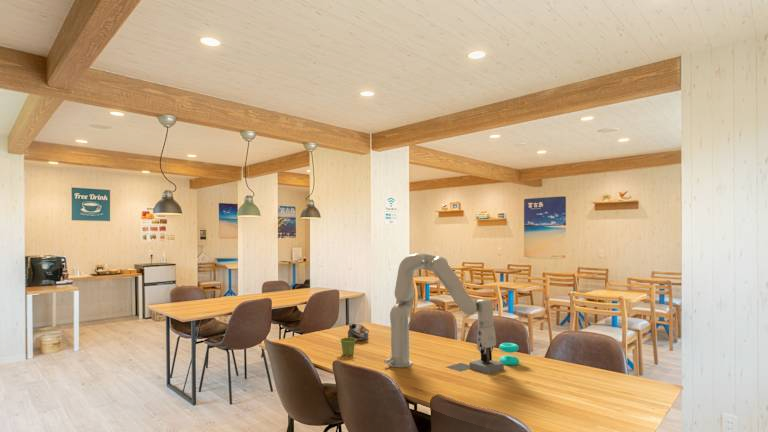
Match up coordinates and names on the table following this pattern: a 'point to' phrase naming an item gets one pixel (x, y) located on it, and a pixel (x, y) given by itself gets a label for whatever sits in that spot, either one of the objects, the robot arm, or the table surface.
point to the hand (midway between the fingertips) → (486, 360)
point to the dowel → (487, 356)
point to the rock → (358, 331)
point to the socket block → (487, 366)
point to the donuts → (508, 359)
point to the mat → (459, 367)
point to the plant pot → (348, 346)
